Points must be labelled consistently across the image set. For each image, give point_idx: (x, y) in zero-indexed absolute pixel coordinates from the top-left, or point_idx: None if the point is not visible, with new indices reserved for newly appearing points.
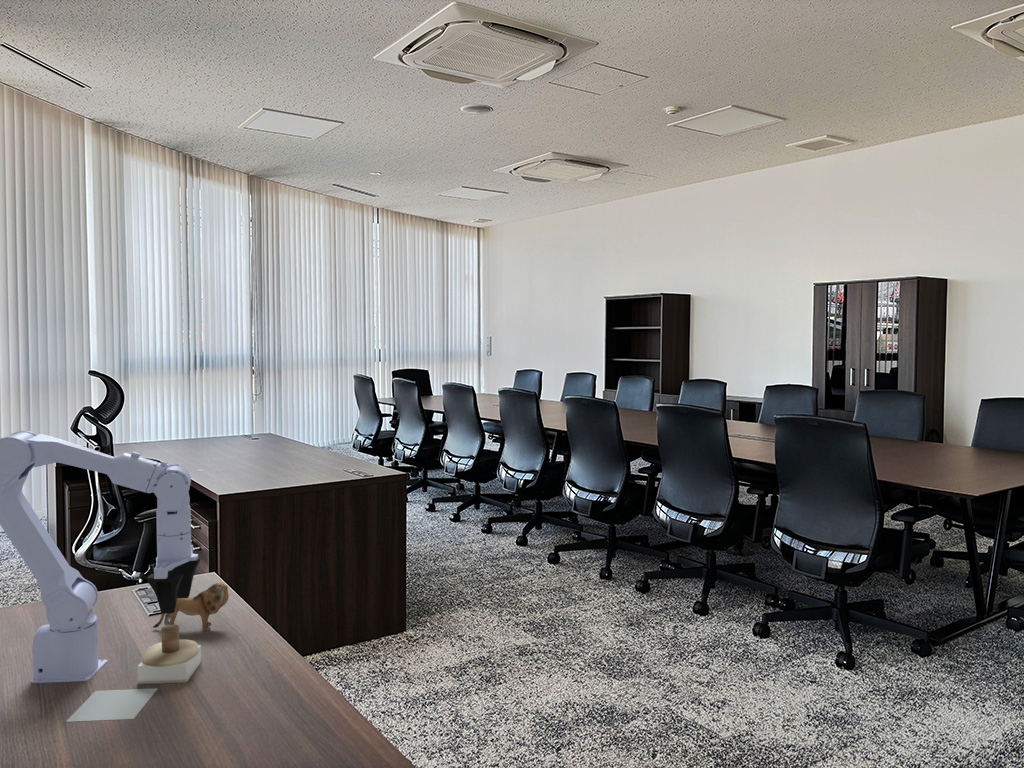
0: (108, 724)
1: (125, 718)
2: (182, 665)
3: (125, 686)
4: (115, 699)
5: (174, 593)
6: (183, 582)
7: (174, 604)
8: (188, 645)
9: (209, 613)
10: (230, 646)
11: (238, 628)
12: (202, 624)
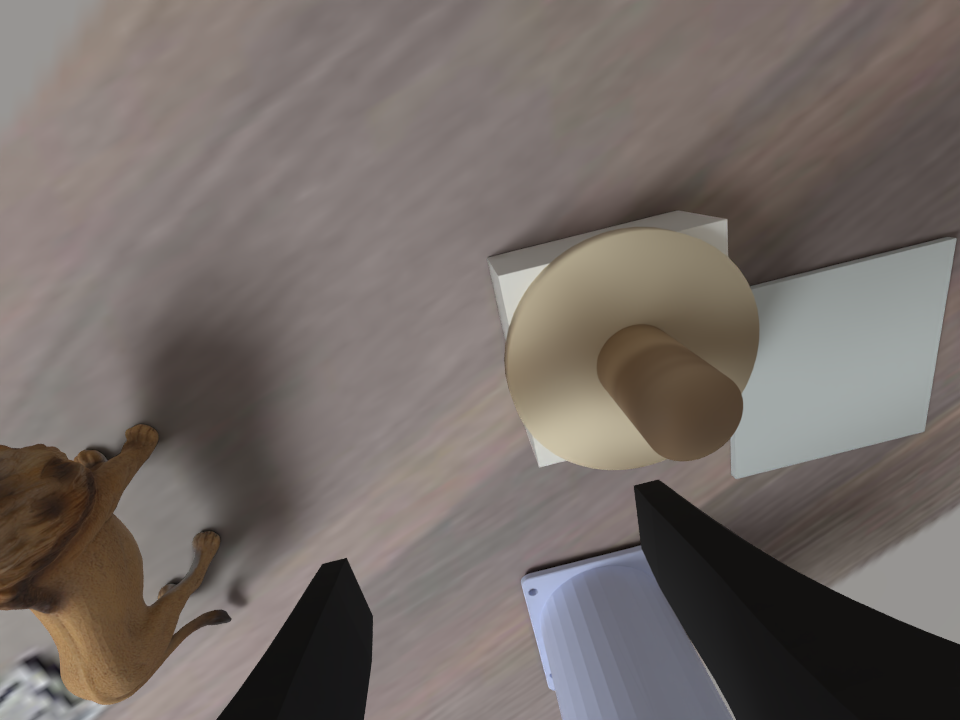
0: (946, 307)
1: (946, 268)
2: (724, 236)
3: None
4: (804, 384)
5: (819, 584)
6: (326, 712)
7: (702, 513)
8: (581, 306)
9: (89, 469)
10: (278, 224)
11: (61, 302)
12: (141, 465)
